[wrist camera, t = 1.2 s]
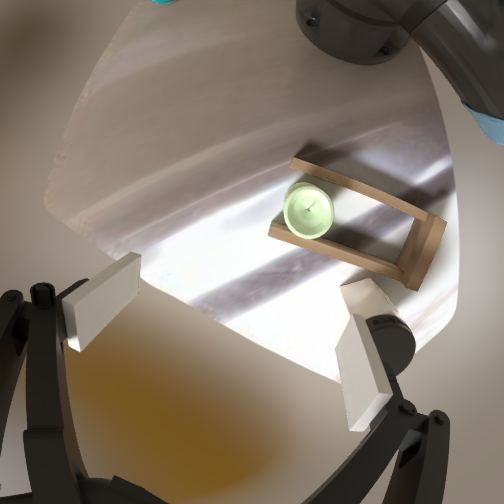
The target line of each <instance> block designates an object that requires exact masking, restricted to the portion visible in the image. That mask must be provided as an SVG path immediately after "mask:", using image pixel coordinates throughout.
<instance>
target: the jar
mask: <svg viewBox="0 0 504 504" xmlns="http://www.w3.org/2000/svg"><path fill="white" fill-rule="evenodd" d="M352 313H353V314H358V315H362V316H363V317H364V319H365V321H366V324H367V326H368V329H369V331H370V334H371V336H372V339H373V341H374V344H375V346H376V349H377V351H378V354H379V356H380V359H381V361H382V362H387V363H388V364H389V365H390V367H391V368H392V369H393V372H394V374H395V377H396V376H397V375H398V374H400V373H401V372H402V371H403V370H404V369H405V368H406V367H407V366H408V365H409V363H410V362H411V360H412V358H413V356H414V353H415V348H416V343H415V338H414V336H413V334H412V332H411V330H410V328H409V327H408V325H407V324H406V322H405V321H404V319H403V318H402V316H401V315H400V313H399V312H398V310H397V308H396V307H395V305H393V303H392V302H391V300H390V299H389V297H388V296H387V295H386V294H385V293H384V292H383V291H382V290H381V289H380V288H379V286H378V285H377V284H376V283H375V282H374V281H373V280H372V279H371V278H367V279H363V280H360V281H357V282H354V283H350V284H347V285H344V286H340V287H339V288H338V291H337V294H336V297H335V300H334V302H333V305H332V308H331V311H330V314H329V317H330V321H331V325H332V329H333V333H334V337H335V341H336V345H337V344H338V342H339V340H340V338H341V336H342V334H343V331H344V329H345V327H346V325H347V323H348V321H349V319H350V317H351V314H352Z"/></svg>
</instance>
